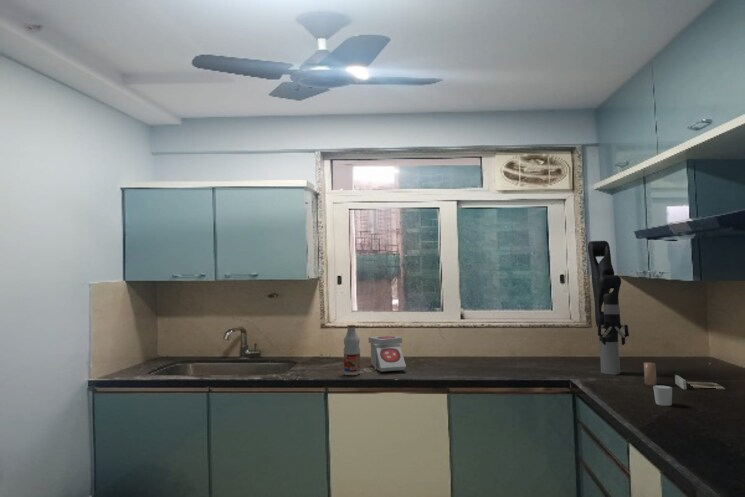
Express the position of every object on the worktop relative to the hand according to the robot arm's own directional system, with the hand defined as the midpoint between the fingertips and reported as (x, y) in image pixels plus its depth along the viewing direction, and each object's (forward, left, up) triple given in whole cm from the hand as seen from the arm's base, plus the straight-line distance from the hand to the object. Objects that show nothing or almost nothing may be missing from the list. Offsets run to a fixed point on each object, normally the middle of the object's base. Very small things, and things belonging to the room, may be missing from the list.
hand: (613, 344), depth 247 cm
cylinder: (+10, +14, -17) cm, 24 cm away
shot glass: (+47, +10, -17) cm, 51 cm away
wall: (+13, +26, -17) cm, 34 cm away
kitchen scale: (-5, -123, -18) cm, 124 cm away
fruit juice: (+14, -139, -17) cm, 141 cm away
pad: (+10, +37, -17) cm, 42 cm away
